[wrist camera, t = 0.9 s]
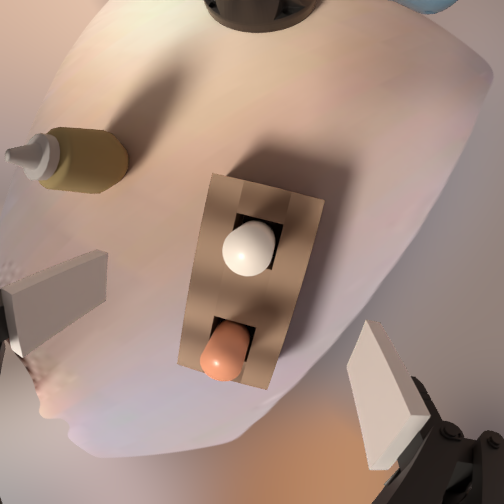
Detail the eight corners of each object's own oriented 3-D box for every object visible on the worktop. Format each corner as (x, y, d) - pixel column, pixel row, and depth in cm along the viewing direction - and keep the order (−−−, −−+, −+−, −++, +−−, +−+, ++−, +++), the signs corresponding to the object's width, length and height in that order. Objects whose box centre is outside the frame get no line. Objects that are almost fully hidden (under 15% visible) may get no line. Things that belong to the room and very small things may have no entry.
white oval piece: (240, 215, 29) (228, 221, 23) (280, 225, 29) (277, 234, 23) (231, 254, 30) (217, 269, 24) (270, 264, 29) (265, 281, 24)
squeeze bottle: (109, 124, 34) (10, 97, 16) (147, 153, 34) (46, 133, 16) (81, 173, 35) (-19, 173, 18) (116, 205, 36) (12, 219, 18)
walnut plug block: (225, 176, 33) (212, 173, 27) (318, 199, 32) (324, 200, 27) (192, 341, 38) (177, 363, 32) (270, 363, 37) (267, 389, 31)
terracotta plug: (218, 315, 31) (203, 340, 25) (253, 325, 31) (246, 353, 25) (212, 345, 32) (197, 374, 26) (245, 354, 32) (236, 385, 26)
